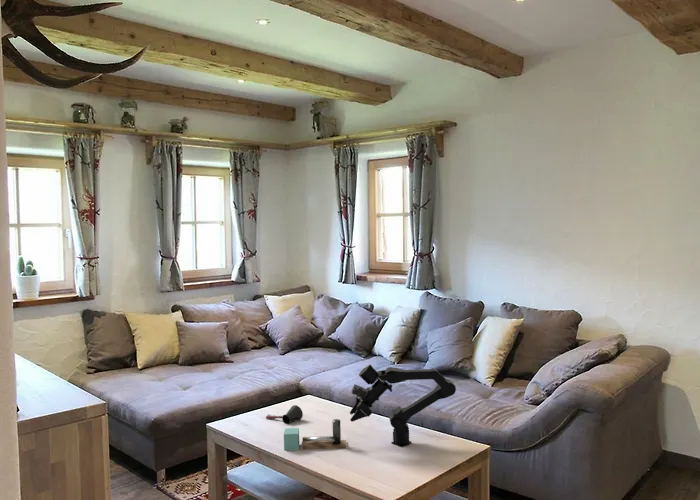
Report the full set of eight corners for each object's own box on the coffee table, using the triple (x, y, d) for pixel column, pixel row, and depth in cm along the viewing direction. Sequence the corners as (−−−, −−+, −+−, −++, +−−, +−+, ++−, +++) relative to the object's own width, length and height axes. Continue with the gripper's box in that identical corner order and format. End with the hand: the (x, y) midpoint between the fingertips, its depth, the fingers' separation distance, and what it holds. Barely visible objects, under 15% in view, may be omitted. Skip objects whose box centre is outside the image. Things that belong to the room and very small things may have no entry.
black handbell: (304, 419, 283) (293, 427, 276) (278, 417, 294) (266, 425, 287) (301, 405, 282) (290, 412, 275) (274, 403, 293) (263, 411, 286)
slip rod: (340, 441, 251) (340, 419, 251) (340, 444, 248) (340, 421, 248) (307, 442, 251) (306, 420, 251) (306, 445, 248) (306, 422, 247)
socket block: (299, 443, 253) (298, 427, 253) (298, 449, 246) (297, 433, 246) (285, 444, 253) (285, 428, 252) (284, 450, 246) (283, 434, 245)
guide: (346, 442, 253) (345, 435, 253) (346, 448, 246) (346, 441, 246) (302, 443, 253) (302, 436, 253) (301, 449, 246) (301, 442, 246)
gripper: (361, 373, 258) (337, 398, 258) (363, 384, 239) (337, 411, 240) (379, 390, 259) (355, 414, 259) (382, 403, 240) (356, 429, 240)
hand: (350, 417), depth 249 cm, fingers open, 9 cm apart
